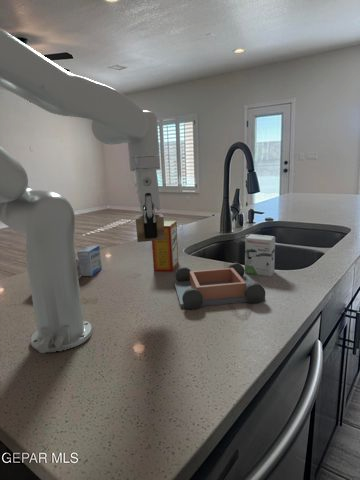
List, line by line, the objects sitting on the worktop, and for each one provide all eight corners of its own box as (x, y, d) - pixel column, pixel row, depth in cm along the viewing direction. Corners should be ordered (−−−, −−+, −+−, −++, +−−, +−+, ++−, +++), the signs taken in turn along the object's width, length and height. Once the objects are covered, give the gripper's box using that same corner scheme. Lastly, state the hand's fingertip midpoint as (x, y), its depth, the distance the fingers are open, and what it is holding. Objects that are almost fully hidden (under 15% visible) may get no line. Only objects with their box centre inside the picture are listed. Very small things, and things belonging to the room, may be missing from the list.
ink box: (244, 273, 107) (243, 237, 105) (249, 268, 112) (249, 233, 109) (271, 276, 103) (271, 239, 100) (275, 271, 107) (275, 235, 105)
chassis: (267, 302, 85) (267, 283, 84) (181, 310, 83) (180, 291, 82) (244, 277, 103) (244, 261, 102) (174, 283, 101) (173, 267, 100)
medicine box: (92, 276, 111) (89, 251, 109) (80, 276, 112) (76, 251, 110) (102, 269, 119) (99, 245, 117) (90, 268, 120) (87, 245, 118)
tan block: (164, 239, 86) (163, 212, 84) (137, 242, 85) (135, 214, 83) (163, 235, 90) (161, 209, 89) (137, 237, 90) (135, 211, 88)
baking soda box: (161, 263, 122) (158, 219, 118) (178, 263, 121) (176, 219, 117) (153, 271, 113) (150, 225, 109) (172, 271, 112) (170, 225, 108)
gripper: (162, 164, 75) (168, 242, 80) (157, 163, 92) (162, 228, 96) (129, 166, 74) (136, 244, 79) (130, 164, 91) (136, 230, 95)
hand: (150, 234), depth 87 cm, fingers closed on tan block, 5 cm apart
